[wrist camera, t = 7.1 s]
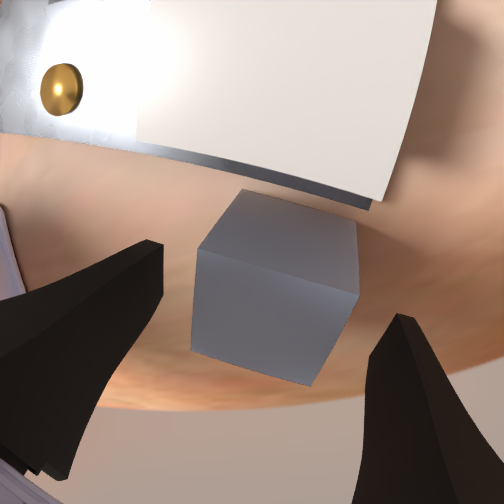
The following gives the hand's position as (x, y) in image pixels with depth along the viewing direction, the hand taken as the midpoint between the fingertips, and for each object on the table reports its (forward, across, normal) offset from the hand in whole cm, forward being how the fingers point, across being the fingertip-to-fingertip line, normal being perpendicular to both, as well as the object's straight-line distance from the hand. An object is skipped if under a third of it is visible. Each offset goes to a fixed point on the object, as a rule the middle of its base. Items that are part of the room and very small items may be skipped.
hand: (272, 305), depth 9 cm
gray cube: (+3, 0, 0) cm, 3 cm away
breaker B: (+2, +1, -7) cm, 7 cm away
